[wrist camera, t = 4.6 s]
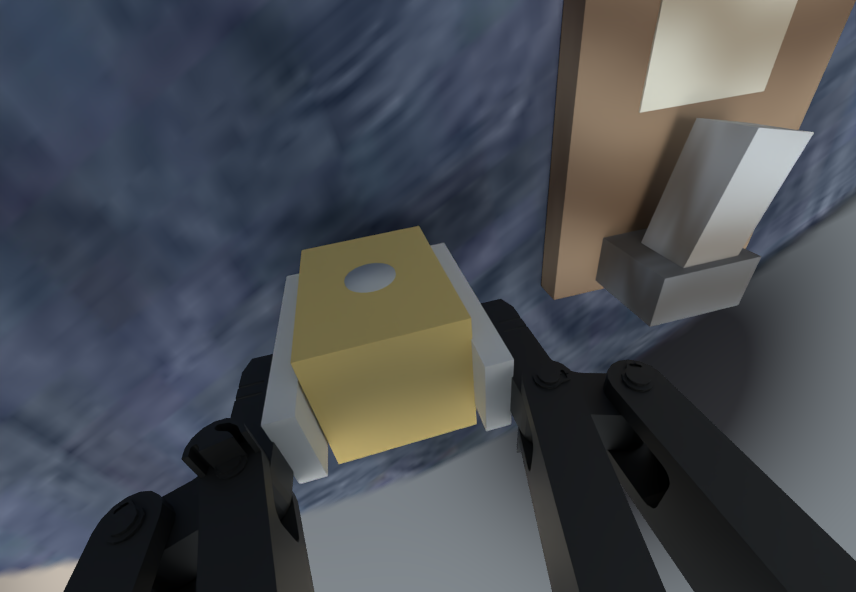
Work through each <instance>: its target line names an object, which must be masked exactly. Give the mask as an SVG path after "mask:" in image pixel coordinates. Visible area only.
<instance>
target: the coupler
mask: <svg viewBox="0 0 856 592" xmlns="http://www.w3.org/2000/svg"><path fill="white" fill-rule="evenodd" d="M471 339H472V321H471V317H470V315H469V313H468V311H467V310H466V308H465V306H464V304H463V303H462V301H461V299H460V297H459V295H458V294H457V292H456V290H455V288H454V287H453V285H452V283H451V281H450V280H449V278H448V276H447V274H446V273H445V271H444V269H443V267H442V266H441V264H440V262H439V260H438V259H437V257H436V255H435V253H434V252H433V250H432V248H431V246H430V245H429V243H428V241H427V239H426V237H425V236H424V234H423V232H422V230H421V229H420V227H419V226H416V227H411V228H406V229H401V230H396V231H391V232H387V233H382V234H377V235H372V236H367V237H363V238H358V239H353V240H348V241H343V242H339V243H334V244H329V245H324V246H319V247H314V248H310V249H305V250H302V251H301V261H300V271H299V281H298V291H297V301H296V311H295V321H294V331H293V341H292V351H291V361H290V364H291V366H292V368H293V370H294V372H295V374H296V376H297V378H298V380H299V382H300V384H301V386H302V388H303V391H304V393H305V395H306V397H307V399H308V401H309V403H310V405H311V407H312V409H313V411H314V413H315V415H316V418H317V420H318V422H319V424H320V426H321V428H322V430H323V432H324V434H325V436H326V438H327V440H328V442H329V444H330V447H331V449H332V451H333V453H334V455H335V457H336V459H337V461H338V463H339V464H341V463H345V462H348V461H352V460H355V459H359V458H362V457H365V456H369V455H372V454H376V453H379V452H382V451H386V450H389V449H393V448H396V447H400V446H403V445H406V444H410V443H413V442H417V441H420V440H423V439H427V438H430V437H434V436H437V435H441V434H444V433H447V432H451V431H454V430H458V429H461V428H464V427H468V426H471V425H475V424H476V405H475V397H474V379H473V361H472V343H471Z"/></svg>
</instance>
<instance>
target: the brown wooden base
mask: <svg viewBox="0 0 856 592" xmlns="http://www.w3.org/2000/svg"><path fill="white" fill-rule="evenodd" d="M855 1H856V0H564V6H563V19H562V31H561V44H560V56H559V69H558V81H557V94H556V106H555V119H554V132H553V144H552V157H551V169H550V182H549V194H548V207H547V220H546V232H545V245H544V257H543V270H542V282H541V286H542V287H543V288H544V290H545V291H546V292H547V293H548V294H549V295H550V296H551V297H552V298H553V299H554V300H555V299H560V298H564V297H568V296H573V295H577V294H581V293H586V292H590V291H594V290H599V289H603V288H605V289H606V290H607V291H608V292H610V293H611V294H612V295H613V296H614V297H616V298H617V299H618V300H619V301H620V302H621V303H623V304H624V305H625V306H626V307H627V308H629V309H630V310H631V311H632V312H633V313H634V314H636V315H637V316H638V317H639V318H640V319H641V320H643V321H644V322H645V323H646V324H647V325H649V326H650V327H651V326H655V325H659V324H663V323H667V322H671V321H675V320H679V319H683V318H687V317H691V316H695V315H699V314H703V313H707V312H711V311H716V310H720V309H724V308H728V307H732V306H736V305H738V304H739V302H740V300H741V298H742V296H743V294H744V292H745V290H746V287H747V285H748V283H749V281H750V279H751V277H752V275H753V273H754V271H755V269H756V267H757V264H758V262H759V260H760V258H761V256H759V255H757V254H755V253H753V252H750V251H748V250H746V247H747V245H748V242H749V240H750V238H751V236H752V233H753V231H754V229H755V227H756V226H757V224H758V222H759V221H760V219H761V217H762V216H763V214H764V213H765V211H766V209H767V208H768V206H769V204H770V203H771V201H772V200H773V198H774V196H775V195H776V193H777V192H778V190H779V188H780V187H781V185H782V183H783V182H784V180H785V179H786V177H787V175H788V174H789V172H790V170H791V169H792V167H793V166H794V164H795V162H796V161H797V159H798V157H799V156H800V154H801V153H802V151H803V149H804V148H805V146H806V145H807V143H808V141H809V140H810V138H811V136H812V135H813V133H814V132H808V131H801V130H799V127H800V125H801V123H802V121H803V118H804V116H805V114H806V112H807V109H808V107H809V105H810V103H811V100H812V98H813V96H814V94H815V91H816V89H817V87H818V85H819V82H820V80H821V78H822V76H823V73H824V71H825V69H826V67H827V64H828V62H829V60H830V57H831V55H832V53H833V51H834V48H835V46H836V44H837V42H838V39H839V37H840V35H841V33H842V30H843V28H844V26H845V24H846V21H847V19H848V17H849V15H850V12H851V10H852V8H853V6H854V3H855Z"/></svg>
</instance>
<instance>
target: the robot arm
mask: <svg viewBox="0 0 856 592" xmlns="http://www.w3.org/2000/svg"><path fill="white" fill-rule="evenodd" d="M431 248H432V250H433V252H434V253H435V255H436V257H437V259H438V260H439V262H440V264H441V266H442V267H443V269H444V271H445V273H446V274H447V276H448V278H449V280H450V281H451V283H452V285H453V287H454V288H455V290H456V292H457V294H458V295H459V297H460V299H461V301H462V303H463V304H464V306H465V308H466V310H467V311H468V313H469V315H470V317H471V321H472V339H471V343H472V361H473V379H474V397H475V405H476V407H477V410H478V412H479V415H480V417H481V419H482V422H483V424H484V427H485V429H486V431H489V430H492V429H496V428H499V427H503V426H506V425H510V424H511V413H512V415H513V417H514V419H515V421H516V423H517V425H518V438H517V452H521V453H522V458H523V462H524V467H525V471H526V476H527V480H528V485H529V489H530V494H531V498H532V503H533V507H534V512H535V516H536V521H537V526H538V530H539V534H540V539H541V544H542V548H543V553H544V557H545V561H546V566H547V571H548V575H549V580H550V584H551V589H552V592H666V590H665V588H664V586H663V583H662V581H661V579H660V576H659V574H658V572H657V569H656V567H655V565H654V562H653V560H652V558H651V555H650V553H649V551H648V548H647V546H646V544H645V541H644V539H643V536H642V534H641V532H640V529H639V527H638V525H637V522H636V520H635V518H634V515H633V513H632V511H631V508H630V506H629V504H628V501H627V499H626V496H625V494H624V492H623V489H622V487H623V488H624V489H625V491H626V492H627V494H628V495H629V497H630V498H631V500H632V501H633V503H634V504H635V505H636V507H637V509H638V510H639V511H640V513H641V514H642V516H643V517H644V519H645V520H646V522H647V523H648V525H649V526H650V528H651V529H652V530H653V532H654V534H655V535H656V536H657V538H658V539H659V541H660V542H661V544H662V545H663V547H664V548H665V550H666V551H667V553H668V554H669V555H670V557H671V558H672V560H673V561H674V563H675V564H676V566H677V567H678V569H679V570H680V572H681V573H682V575H683V576H684V577H685V579H686V580H687V582H688V583H689V585H690V586H691V588H692V589H693V591H694V592H856V561H855V560H854V559H853V558H852V557H851V556H850V555H849V554H848V553H847V552H846V551H845V550H844V549H843V548H842V547H841V546H840V545H839V544H838V543H836V542H835V541H834V540H833V539H832V538H831V537H830V536H829V535H828V534H827V533H826V532H825V531H824V530H823V529H822V528H821V527H820V526H819V525H818V524H817V523H816V522H815V521H814V520H813V519H812V518H811V517H809V516H808V515H807V514H806V513H805V512H804V511H803V510H802V509H801V508H800V507H799V506H798V505H797V504H796V503H795V502H794V501H793V500H792V499H791V498H790V497H789V496H788V495H786V493H785V492H784V491H782V489H780V488H779V487H778V486H777V485H776V484H775V483H774V482H773V481H772V480H771V479H770V478H769V477H768V476H767V475H766V474H765V473H764V472H763V471H762V470H761V469H760V468H759V467H758V466H757V465H755V464H754V463H753V462H752V461H751V460H750V459H749V458H748V457H747V456H746V455H745V454H744V453H743V452H742V451H741V450H740V449H739V448H738V447H737V446H736V445H735V444H734V443H733V442H732V441H731V440H729V438H728V437H727V436H726V435H724V434H723V433H722V432H721V431H720V430H719V429H718V428H717V427H716V426H715V425H714V424H713V423H712V422H711V421H710V420H709V419H708V418H707V417H706V416H705V415H704V414H703V413H702V412H701V411H700V410H698V409H697V408H696V407H695V406H694V405H693V404H692V403H691V402H690V401H689V400H688V399H687V398H686V397H685V396H684V395H683V394H682V393H681V392H680V391H678V389H677V388H676V387H674V385H672V384H671V383H670V382H669V381H668V380H667V379H666V378H665V377H664V376H663V375H662V374H661V373H660V372H659V371H657V370H656V369H654V368H653V367H652V366H650V365H647V364H645V363H643V362H640V361H634V360H622V361H618V362H616V363H614V364H612V365H611V366H610V368H609V369H608V371H607V373H578V372H573V371H570V369H568V368H567V367H566V366H564V365H563V364H561V363H559V362H556V361H553V360H551V359H550V358H549V356H548V355H547V353H546V352H545V351H544V349H543V348H542V346H541V345H540V344H539V342H538V341H537V339H536V338H535V337H534V335H533V334H532V332H531V331H530V330H529V328H528V327H526V324H525V323H524V321H523V320H522V319H521V318H520V316H519V314H518V313H517V312H516V310H515V309H514V307H513V306H511V305H510V304H508V303H506V302H505V301H503V300H502V299H498V300H494V301H490V302H486V303H481V304H480V302H479V300H478V299H477V297H476V295H475V294H474V292H473V290H472V289H471V287H470V285H469V284H468V282H467V280H466V279H465V277H464V275H463V274H462V272H461V270H460V269H459V267H458V265H457V264H456V262H455V260H454V259H453V257H452V255H451V254H450V252H449V250H448V249H447V247H446V245H445V244H444V243H440V244H436V245H431ZM298 281H299V274H294V275H290V276H287V278H286V283H285V289H284V295H283V301H282V306H281V312H280V318H279V324H278V329H277V335H276V341H275V347H274V352H273V354H271V355H266V356H262V357H258V358H254V359H252V360H251V361H250V363H249V364H248V365H247V367H246V368H245V370H244V371H243V372H242V376H241V379H240V383H239V389H238V391H237V395H236V401H235V403H234V406H233V410H232V414H231V418H225V419H222V420H218V421H215V422H213V423H211V424H210V425H208V426H206V427H204V428H203V429H202V430H200V431H199V432H198V433H197V434H196V435H195V436H194V437H193V438H192V439H191V440H190V442H189V443H188V445H187V446H186V447H185V450H184V453H183V456H182V460H183V461H184V462H185V463H186V464H187V465H188V466H189V467H190V468H191V469H192V470H193V471H194V472H195V473H196V474H197V475H198V477H196V478H195V479H193V480H192V481H190V482H188V483H187V484H185V485H183V486H181V487H179V488H177V489H176V490H174V491H172V492H170V493H168V494H167V495H165V496H163V497H161V496H160V495H159V494H157V493H155V492H153V491H143V492H138V493H136V494H134V495H131V496H129V497H127V498H125V499H124V500H122V501H121V502H119V503H118V504H117V505H115V506H114V507H113V508H112V509H111V510H110V511H109V512H108V513H107V514H106V515H105V516H104V517H103V518H102V519H101V520H100V522H99V523H98V525H97V526H96V528H95V529H94V531H93V533H92V534H91V536H90V538H89V541H88V543H87V545H86V547H85V549H84V551H83V553H82V555H81V557H80V559H79V561H78V563H77V565H76V567H75V569H74V571H73V573H72V575H71V577H70V579H69V581H68V584H67V585H66V588H65V590H64V592H314V588H313V582H312V576H311V571H310V566H309V560H308V554H307V549H306V544H305V538H304V533H303V528H302V522H301V517H300V511H299V505H298V501H297V499H296V496H295V494H294V493H293V491H292V486H293V475H294V476H295V478H296V479H297V481H298V482H299V484H302V483H305V482H309V481H312V480H316V479H319V478H323V477H326V476H328V440H327V438H326V436H325V434H324V432H323V430H322V428H321V426H320V424H319V422H318V420H317V418H316V415H315V413H314V411H313V409H312V407H311V405H310V403H309V401H308V399H307V397H306V395H305V393H304V391H303V388H302V386H301V384H300V382H299V380H298V378H297V376H296V374H295V372H294V370H293V368H292V366H291V364H290V361H291V351H292V341H293V331H294V321H295V311H296V301H297V291H298ZM620 484H621V485H622V487H621V485H620Z"/></svg>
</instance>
